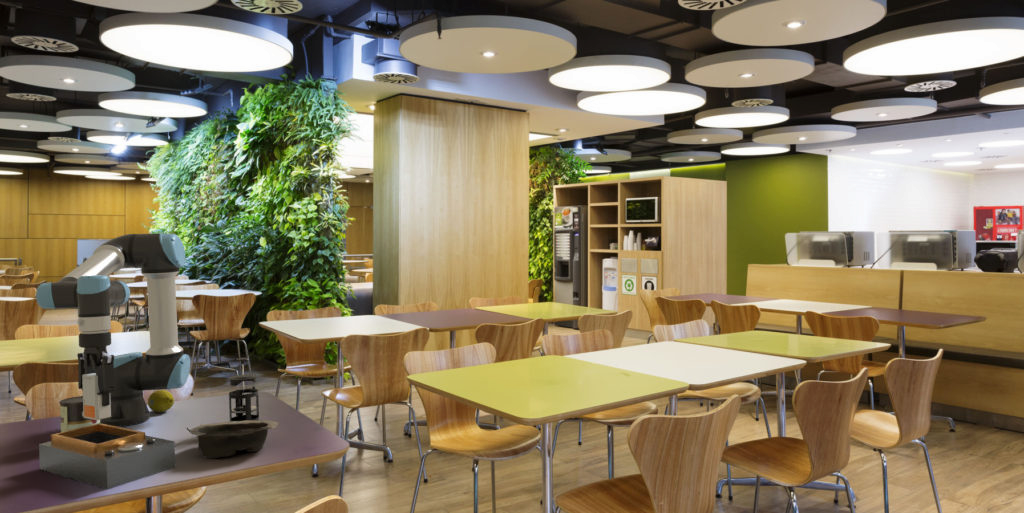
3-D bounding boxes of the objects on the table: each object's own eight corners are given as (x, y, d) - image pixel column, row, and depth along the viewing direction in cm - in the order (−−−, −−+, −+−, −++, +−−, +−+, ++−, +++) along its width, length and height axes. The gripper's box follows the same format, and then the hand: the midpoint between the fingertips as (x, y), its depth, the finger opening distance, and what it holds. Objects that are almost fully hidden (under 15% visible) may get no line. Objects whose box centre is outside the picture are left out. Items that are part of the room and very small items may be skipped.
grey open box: (39, 469, 180) (38, 436, 179) (107, 451, 195) (106, 420, 195) (107, 489, 164) (106, 452, 164) (175, 467, 180) (174, 434, 179)
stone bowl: (198, 469, 177) (196, 434, 177) (181, 453, 197) (179, 422, 198) (291, 449, 192) (289, 417, 192) (266, 436, 212) (264, 407, 212)
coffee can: (109, 440, 206) (107, 395, 206) (81, 450, 196) (80, 403, 196) (81, 439, 208) (79, 394, 208) (52, 449, 198) (50, 402, 198)
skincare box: (82, 418, 181) (81, 374, 181) (98, 414, 184) (97, 371, 184) (95, 420, 178) (94, 376, 178) (111, 416, 182) (110, 373, 181)
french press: (264, 428, 216) (262, 358, 216) (234, 434, 210) (232, 362, 210) (253, 421, 226) (251, 354, 225) (224, 426, 220) (222, 357, 219)
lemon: (143, 412, 242) (143, 390, 242) (165, 407, 248) (165, 386, 248) (156, 416, 235) (156, 394, 235) (179, 412, 241) (178, 390, 241)
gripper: (61, 332, 182) (63, 415, 182) (100, 335, 173) (102, 423, 173) (89, 328, 189) (92, 409, 189) (129, 331, 180) (131, 416, 180)
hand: (97, 416), depth 181 cm, fingers closed on skincare box, 6 cm apart
